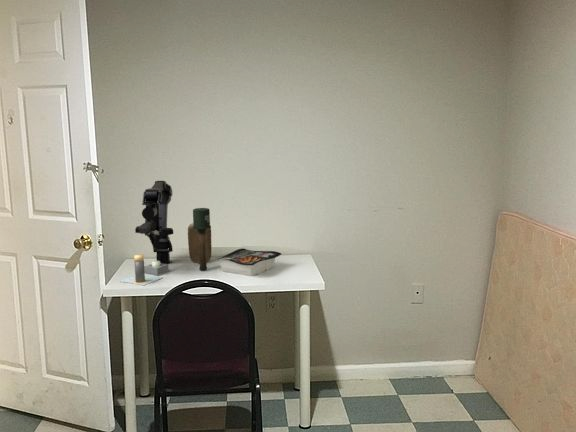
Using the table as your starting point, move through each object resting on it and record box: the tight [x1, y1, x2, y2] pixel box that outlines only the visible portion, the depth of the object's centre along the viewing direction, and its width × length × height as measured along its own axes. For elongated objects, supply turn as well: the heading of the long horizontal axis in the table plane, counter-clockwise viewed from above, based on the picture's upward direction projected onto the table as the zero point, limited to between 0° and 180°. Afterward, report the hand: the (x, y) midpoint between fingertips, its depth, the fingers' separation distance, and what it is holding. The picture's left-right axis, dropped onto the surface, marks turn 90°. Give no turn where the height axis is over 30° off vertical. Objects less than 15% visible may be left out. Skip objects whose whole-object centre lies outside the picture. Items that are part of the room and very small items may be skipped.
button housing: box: [144, 263, 169, 277], centre depth 286 cm, size 8×8×4 cm
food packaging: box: [217, 248, 282, 277], centre depth 290 cm, size 25×8×23 cm
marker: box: [133, 253, 146, 283], centre depth 269 cm, size 4×4×12 cm
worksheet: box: [119, 274, 163, 287], centre depth 274 cm, size 13×14×1 cm
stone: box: [187, 222, 212, 263], centre depth 304 cm, size 12×7×20 cm, turn 99°
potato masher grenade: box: [192, 207, 212, 272], centre depth 287 cm, size 8×9×30 cm
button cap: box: [151, 260, 160, 267], centre depth 286 cm, size 4×4×5 cm
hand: (155, 248), depth 284 cm, fingers closed
